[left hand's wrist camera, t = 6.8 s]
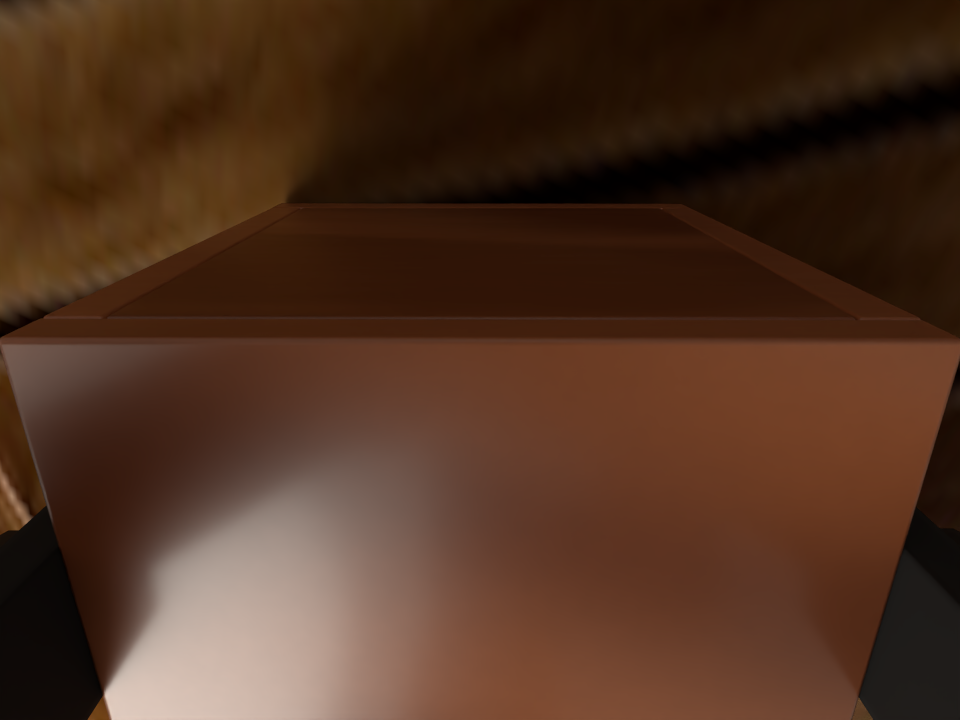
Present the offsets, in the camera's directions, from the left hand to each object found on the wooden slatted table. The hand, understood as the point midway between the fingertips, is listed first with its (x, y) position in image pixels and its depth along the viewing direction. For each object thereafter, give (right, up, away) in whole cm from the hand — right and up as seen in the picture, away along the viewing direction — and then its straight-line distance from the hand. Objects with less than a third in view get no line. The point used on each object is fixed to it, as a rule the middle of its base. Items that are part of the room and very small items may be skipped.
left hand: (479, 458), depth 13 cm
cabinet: (0, -2, +8) cm, 8 cm away
